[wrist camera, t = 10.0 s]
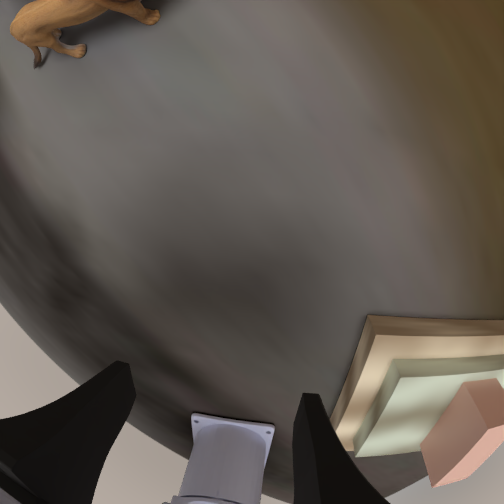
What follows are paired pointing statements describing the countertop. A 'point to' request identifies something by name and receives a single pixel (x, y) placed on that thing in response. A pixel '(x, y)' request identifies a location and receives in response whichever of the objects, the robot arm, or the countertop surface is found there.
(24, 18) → the lion figurine
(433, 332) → the tower base
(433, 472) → the terracotta brick
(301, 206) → the countertop surface
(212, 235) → the countertop surface
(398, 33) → the countertop surface
